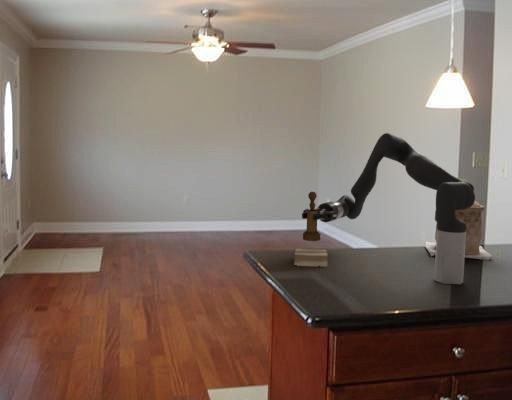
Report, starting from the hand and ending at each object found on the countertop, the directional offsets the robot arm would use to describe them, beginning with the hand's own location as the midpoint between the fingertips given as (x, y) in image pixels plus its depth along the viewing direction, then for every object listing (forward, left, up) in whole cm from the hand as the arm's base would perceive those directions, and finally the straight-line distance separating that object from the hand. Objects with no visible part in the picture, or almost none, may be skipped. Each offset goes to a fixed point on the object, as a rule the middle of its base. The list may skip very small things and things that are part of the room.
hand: (308, 216), depth 214 cm
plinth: (+2, -1, -18) cm, 18 cm away
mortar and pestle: (+3, -1, -9) cm, 10 cm away
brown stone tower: (+32, -62, -18) cm, 73 cm away
